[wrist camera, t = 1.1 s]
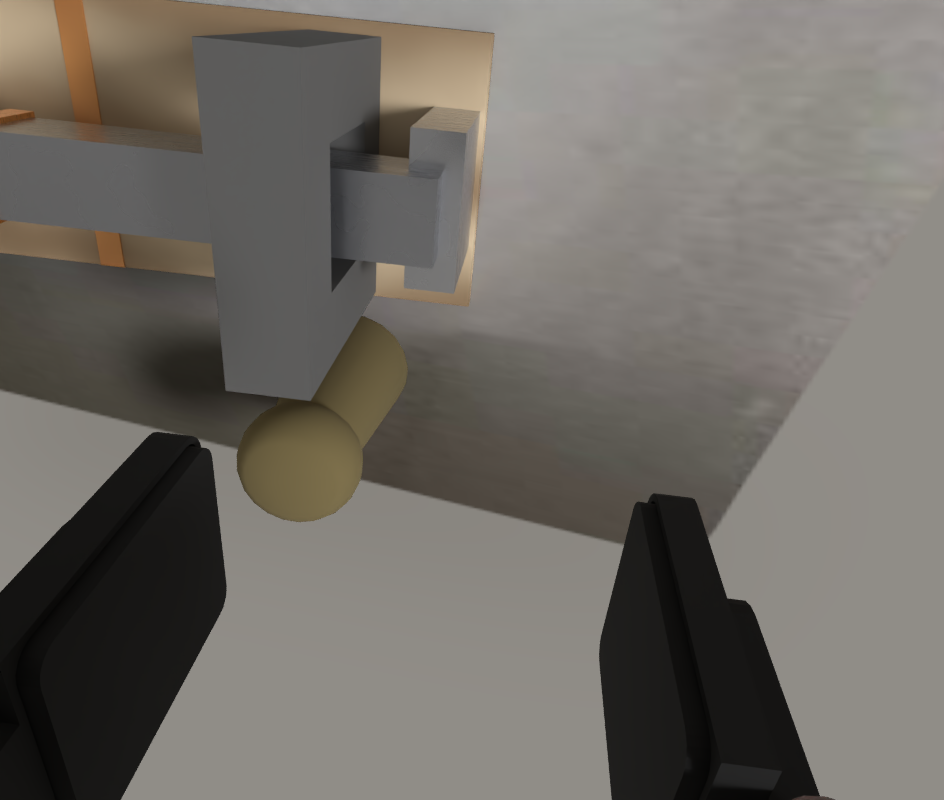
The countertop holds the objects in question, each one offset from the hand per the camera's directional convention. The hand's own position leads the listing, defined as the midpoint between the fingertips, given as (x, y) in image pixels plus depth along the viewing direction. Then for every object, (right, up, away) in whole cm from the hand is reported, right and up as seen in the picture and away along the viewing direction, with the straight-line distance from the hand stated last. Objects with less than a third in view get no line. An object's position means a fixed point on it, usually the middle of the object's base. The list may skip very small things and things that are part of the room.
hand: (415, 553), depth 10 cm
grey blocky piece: (-12, +14, +23) cm, 29 cm away
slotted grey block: (-5, +12, +21) cm, 25 cm away
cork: (-6, +4, +28) cm, 29 cm away
